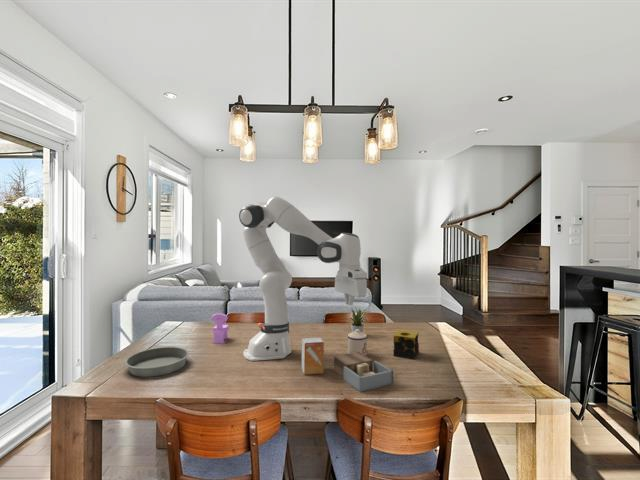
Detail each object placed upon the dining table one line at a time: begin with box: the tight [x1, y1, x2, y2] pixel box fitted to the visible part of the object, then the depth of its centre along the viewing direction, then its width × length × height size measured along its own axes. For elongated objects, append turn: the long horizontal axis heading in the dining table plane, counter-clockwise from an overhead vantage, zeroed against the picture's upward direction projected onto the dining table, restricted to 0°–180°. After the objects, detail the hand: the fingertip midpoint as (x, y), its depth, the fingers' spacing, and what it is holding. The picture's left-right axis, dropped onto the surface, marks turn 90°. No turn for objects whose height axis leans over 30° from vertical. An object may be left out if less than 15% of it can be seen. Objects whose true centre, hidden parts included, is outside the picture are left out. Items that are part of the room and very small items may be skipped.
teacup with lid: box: [347, 329, 368, 357], centre depth 161 cm, size 12×9×12 cm
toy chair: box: [211, 313, 229, 344], centre depth 179 cm, size 8×9×15 cm
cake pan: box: [124, 346, 190, 378], centre depth 145 cm, size 25×25×4 cm
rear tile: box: [356, 363, 369, 377], centre depth 134 cm, size 4×4×2 cm
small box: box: [301, 336, 325, 376], centre depth 140 cm, size 8×6×13 cm
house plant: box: [348, 306, 371, 333], centre depth 189 cm, size 14×14×16 cm
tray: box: [343, 360, 395, 393], centre depth 130 cm, size 15×12×5 cm
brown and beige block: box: [333, 352, 374, 377], centre depth 140 cm, size 12×10×6 cm
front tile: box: [362, 371, 375, 376], centre depth 129 cm, size 4×4×2 cm
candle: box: [392, 329, 420, 360], centre depth 160 cm, size 10×10×10 cm
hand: (349, 304), depth 143 cm, fingers closed
